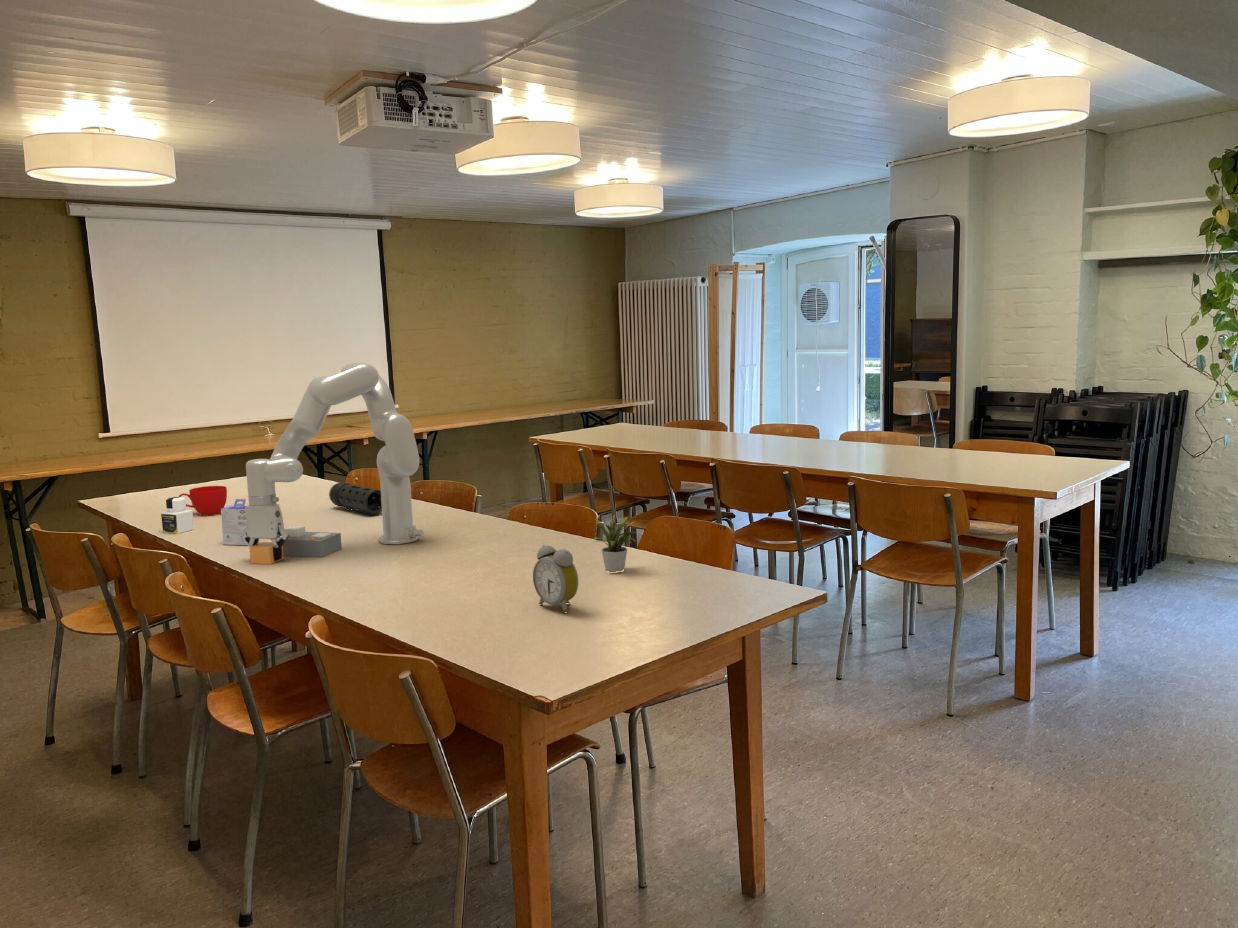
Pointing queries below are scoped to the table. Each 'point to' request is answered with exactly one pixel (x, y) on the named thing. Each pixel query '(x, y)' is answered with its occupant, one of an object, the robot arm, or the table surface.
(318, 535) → the block
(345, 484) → the muzzle brake
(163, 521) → the medicine bottle
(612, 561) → the house plant
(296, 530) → the white cube
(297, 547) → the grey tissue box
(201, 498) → the ceramic cup
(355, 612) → the table surface
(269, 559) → the cap
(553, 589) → the alarm clock
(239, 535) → the ink cartridge box
